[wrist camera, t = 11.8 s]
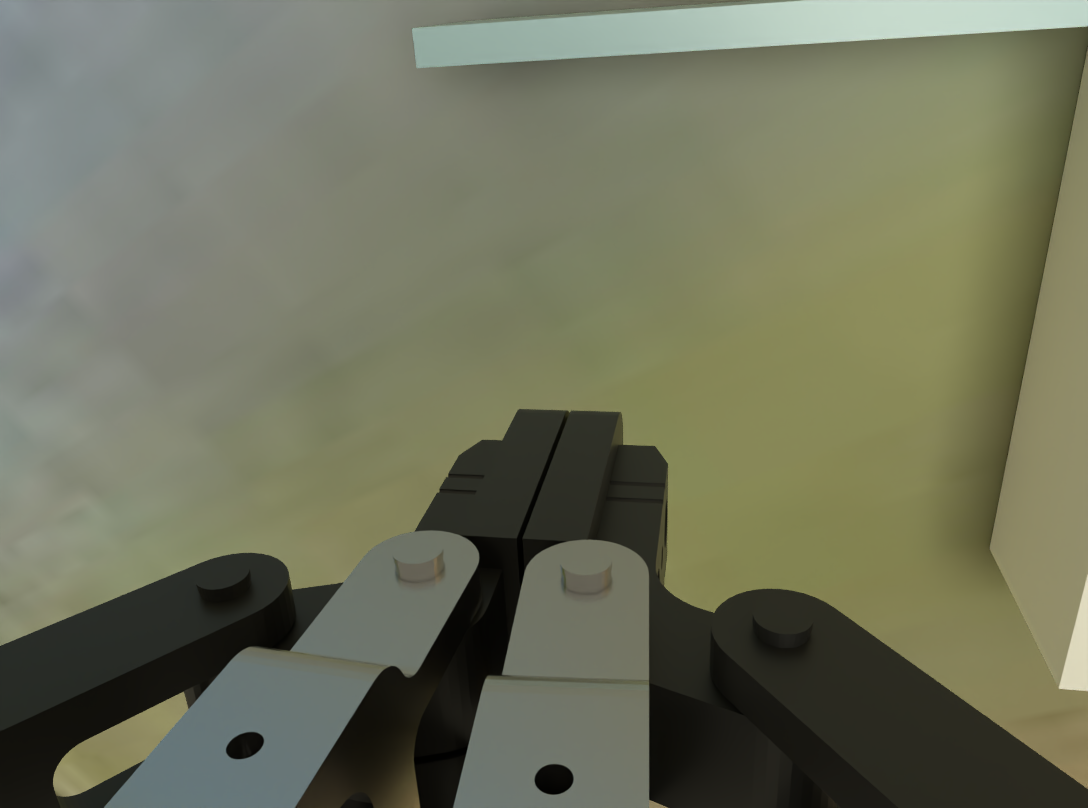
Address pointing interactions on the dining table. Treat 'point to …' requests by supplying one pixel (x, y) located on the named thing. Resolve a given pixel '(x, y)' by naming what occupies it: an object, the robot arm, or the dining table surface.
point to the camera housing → (1054, 441)
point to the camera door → (728, 27)
